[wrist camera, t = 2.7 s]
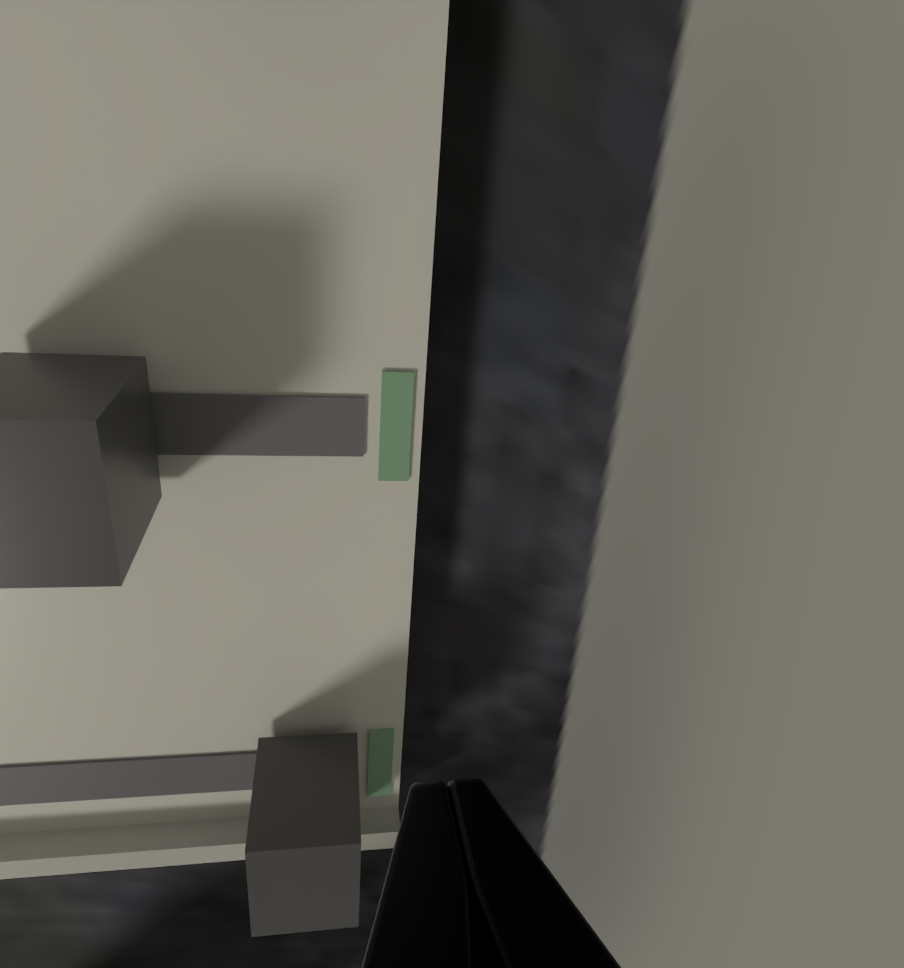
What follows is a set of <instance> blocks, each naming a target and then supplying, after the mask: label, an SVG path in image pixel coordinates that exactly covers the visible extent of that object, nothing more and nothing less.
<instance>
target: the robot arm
mask: <svg viewBox="0 0 904 968" xmlns="http://www.w3.org/2000/svg"><path fill="white" fill-rule="evenodd" d="M361 968H621V967H620V966H619V964H618V963H617V961H616V960H615V959H614V957H613V956H612V955H611V953H610V952H609V951H608V949H607V948H606V947H605V945H604V944H603V942H602V941H601V940H600V939H599V937H598V936H597V934H596V933H595V932H594V930H593V929H592V928H591V926H590V925H589V923H588V922H587V921H586V920H585V918H584V917H583V915H582V914H581V913H580V911H579V910H578V909H577V907H576V906H575V904H574V903H573V902H572V900H571V899H570V898H569V896H568V895H567V894H566V892H565V891H564V890H563V888H562V887H561V885H560V884H559V883H558V881H557V880H556V879H555V877H554V876H553V875H552V873H551V872H550V870H549V869H548V868H547V866H546V865H545V864H544V862H543V861H542V860H541V858H540V857H539V856H538V854H537V853H536V851H535V850H534V849H533V847H532V846H531V845H530V843H529V842H528V841H527V839H526V838H525V837H524V835H523V834H522V832H521V831H520V830H519V828H518V827H517V826H516V824H515V823H514V822H513V820H512V819H511V818H510V816H509V815H508V813H507V812H506V811H505V809H504V808H503V807H502V805H501V804H500V803H499V801H498V800H497V799H496V797H495V796H494V794H493V793H492V792H491V790H490V789H489V788H488V786H487V785H486V784H485V783H484V782H483V781H482V780H480V779H461V780H451V781H449V782H448V783H447V785H446V784H445V783H444V782H442V781H430V782H416V783H413V784H412V785H411V787H410V789H409V792H408V796H407V800H406V803H405V807H404V811H403V815H402V818H401V822H400V826H399V829H398V833H397V837H396V841H395V844H394V848H393V852H392V855H391V859H390V863H389V867H388V870H387V874H386V878H385V881H384V885H383V889H382V893H381V896H380V900H379V904H378V907H377V911H376V915H375V918H374V922H373V926H372V930H371V933H370V937H369V941H368V944H367V948H366V952H365V956H364V959H363V963H362V967H361Z"/></svg>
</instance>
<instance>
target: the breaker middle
mask: <svg viewBox="0 0 904 968" xmlns="http://www.w3.org/2000/svg"><path fill="white" fill-rule="evenodd" d="M161 497H162V492H161V484H160V475H159V467H158V458H157V449H156V441H155V432H154V424H153V415H152V407H151V398H150V390H149V381H148V372H147V364H146V356H114V355H81V354H48V353H16V352H2V353H0V589H2V588H55V587H108V586H122V584H123V582H124V580H125V577H126V575H127V573H128V571H129V568H130V566H131V564H132V562H133V559H134V557H135V555H136V553H137V551H138V548H139V546H140V544H141V542H142V539H143V537H144V535H145V533H146V530H147V528H148V526H149V524H150V522H151V519H152V517H153V515H154V513H155V510H156V508H157V506H158V504H159V501H160V499H161Z"/></svg>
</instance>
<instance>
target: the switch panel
mask: <svg viewBox="0 0 904 968" xmlns="http://www.w3.org/2000/svg"><path fill="white" fill-rule="evenodd" d="M448 16H449V0H0V353H2V352H16V353H48V354H81V355H114V356H146V364H147V372H148V381H149V390H150V398H151V407H152V415H153V424H154V432H155V441H156V449H157V458H158V467H159V475H160V484H161V492H162V497H161V499H160V501H159V504H158V506H157V508H156V510H155V513H154V515H153V517H152V519H151V522H150V524H149V526H148V528H147V530H146V533H145V535H144V537H143V539H142V542H141V544H140V546H139V548H138V551H137V553H136V555H135V557H134V559H133V562H132V564H131V566H130V568H129V571H128V573H127V575H126V577H125V580H124V582H123V584H122V586H108V587H55V588H2V589H0V879H10V878H23V877H35V876H48V875H60V874H73V873H85V872H98V871H111V870H123V869H136V868H148V867H161V866H173V865H186V864H198V863H211V862H224V861H236V860H245V846H246V838H247V830H248V821H249V813H250V805H251V797H252V788H253V780H254V772H255V763H256V755H257V747H258V738H263V737H282V736H301V735H319V734H338V733H357V744H358V771H359V798H360V825H361V851H362V850H374V849H387V848H394V844H395V841H396V837H397V833H398V829H399V826H400V819H399V808H398V804H399V788H400V772H401V756H402V741H403V725H404V709H405V693H406V678H407V662H408V646H409V630H410V614H411V599H412V583H413V567H414V551H415V536H416V520H417V504H418V488H419V473H420V457H421V441H422V425H423V410H424V394H425V378H426V362H427V347H428V331H429V315H430V299H431V284H432V268H433V252H434V236H435V220H436V205H437V189H438V173H439V157H440V142H441V126H442V110H443V94H444V79H445V63H446V47H447V31H448Z"/></svg>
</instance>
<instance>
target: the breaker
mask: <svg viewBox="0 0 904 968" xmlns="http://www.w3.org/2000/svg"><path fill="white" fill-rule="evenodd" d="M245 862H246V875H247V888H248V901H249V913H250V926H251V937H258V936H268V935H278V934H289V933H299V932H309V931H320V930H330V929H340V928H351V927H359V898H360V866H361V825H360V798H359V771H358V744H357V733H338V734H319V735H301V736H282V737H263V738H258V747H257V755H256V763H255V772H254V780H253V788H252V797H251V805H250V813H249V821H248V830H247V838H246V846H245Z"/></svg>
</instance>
